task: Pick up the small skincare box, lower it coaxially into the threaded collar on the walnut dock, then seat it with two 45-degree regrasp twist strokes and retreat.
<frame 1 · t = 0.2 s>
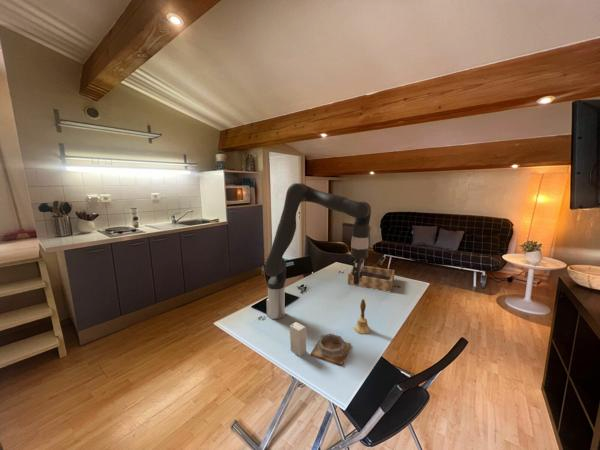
hand: (357, 280, 108), 29 cm above the table, tool pointing down, fingers open, 8 cm apart
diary: (371, 283, 179), resting in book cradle
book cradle: (371, 282, 179), on the table
skincare box: (297, 351, 103), on the table
hand bell: (362, 329, 120), on the table
collar dock: (331, 350, 104), on the table
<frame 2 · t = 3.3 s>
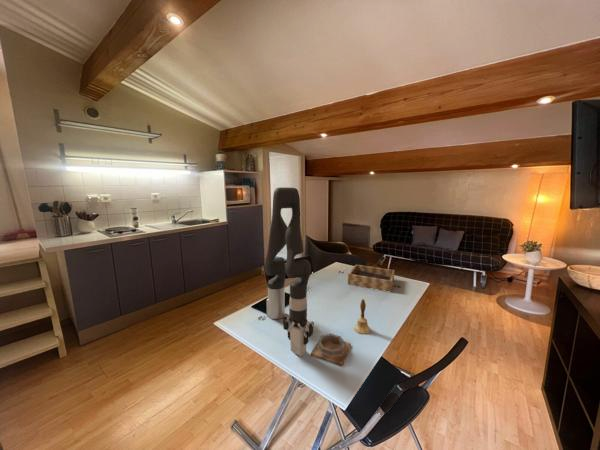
hand: (298, 341, 103), 5 cm above the table, tool pointing down, fingers closed on skincare box, 7 cm apart
skincare box: (297, 351, 103), on the table, touching gripper
everything else where it was.
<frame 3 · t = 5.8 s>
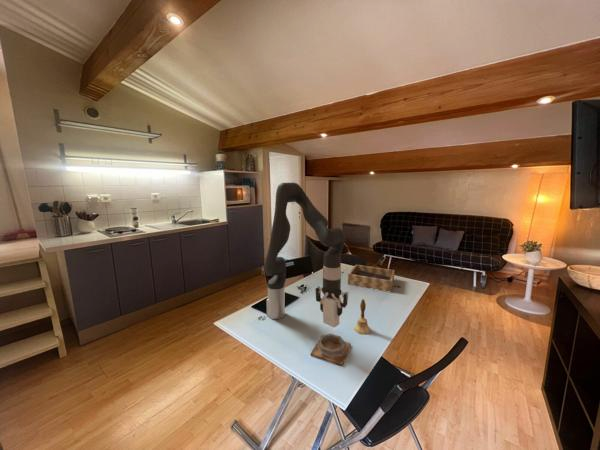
hand: (331, 312, 101), 18 cm above the table, tool pointing down, fingers closed on skincare box, 7 cm apart
skincare box: (330, 323, 101), point 13 cm above the table, touching gripper
everything else where it was.
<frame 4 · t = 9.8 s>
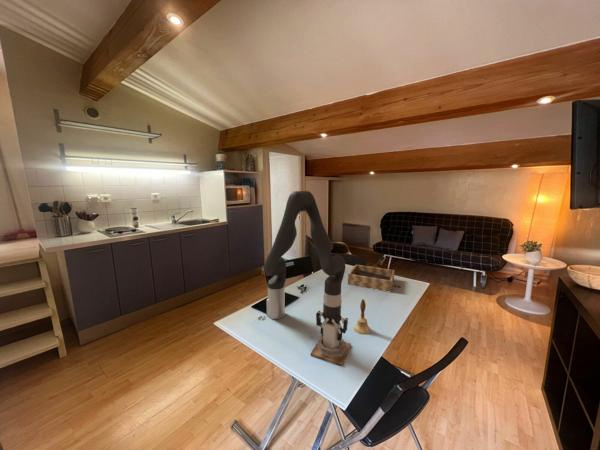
hand: (331, 337, 103), 6 cm above the table, tool pointing down, fingers closed on skincare box, 7 cm apart
skincare box: (330, 348, 104), point 1 cm above the table, touching collar dock, gripper
everything else where it was.
when the fingers open (7 cm above the table, at t = 15.0 s): skincare box stays where it is, resting on collar dock.
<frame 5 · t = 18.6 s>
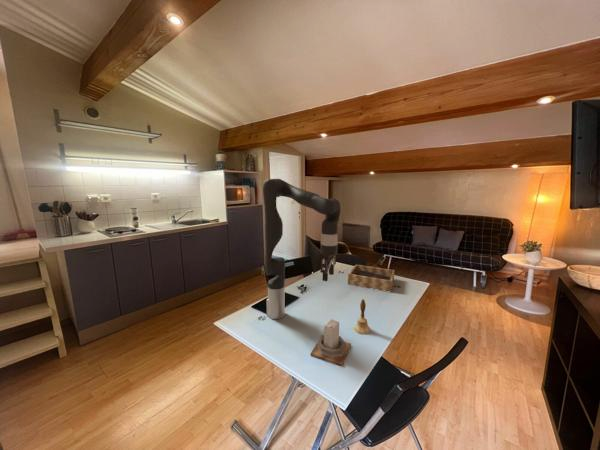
hand: (328, 277, 108), 30 cm above the table, tool pointing down, fingers open, 8 cm apart
skincare box: (331, 349, 104), point 1 cm above the table, touching collar dock
everything else where it was.
at the end: skincare box 0.2 cm off-centre on the collar dock, point 0.8 cm above the collar dock's base; skincare box tilted 0°; the gripper is holding nothing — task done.
